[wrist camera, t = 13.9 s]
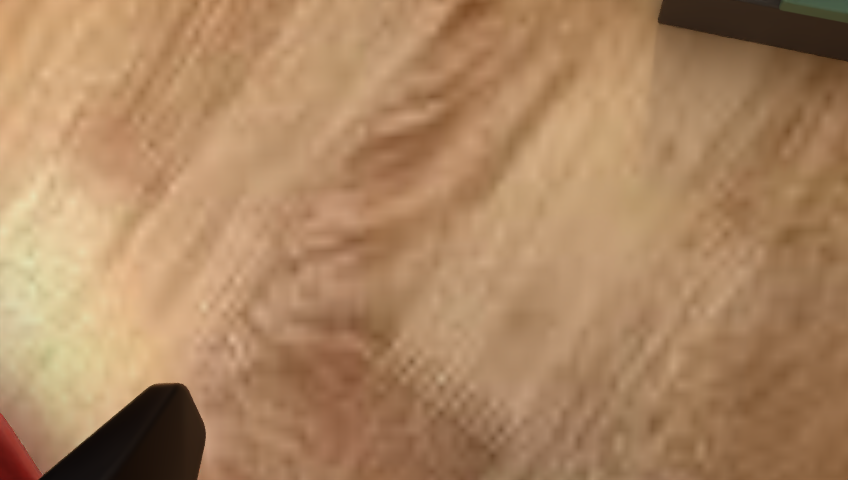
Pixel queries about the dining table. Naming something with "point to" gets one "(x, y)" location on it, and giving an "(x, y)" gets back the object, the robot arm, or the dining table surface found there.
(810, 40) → the scale
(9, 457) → the butter dish
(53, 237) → the dining table surface
